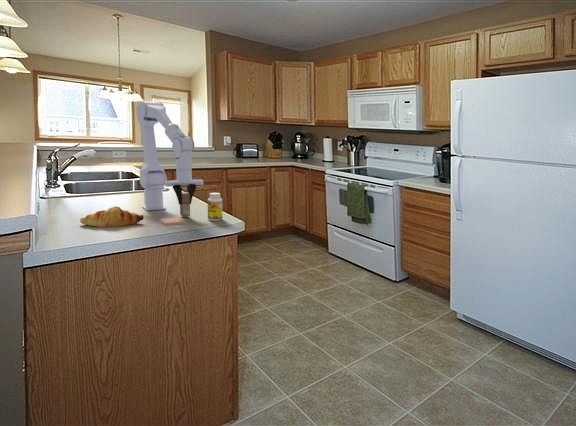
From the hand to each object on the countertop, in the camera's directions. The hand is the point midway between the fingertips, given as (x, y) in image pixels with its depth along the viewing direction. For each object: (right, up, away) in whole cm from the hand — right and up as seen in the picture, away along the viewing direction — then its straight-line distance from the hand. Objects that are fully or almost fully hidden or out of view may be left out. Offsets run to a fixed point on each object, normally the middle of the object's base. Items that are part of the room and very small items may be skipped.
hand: (184, 203), depth 160 cm
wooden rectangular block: (0, -4, +1) cm, 5 cm away
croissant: (-23, -8, -13) cm, 27 cm away
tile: (-4, -6, -6) cm, 9 cm away
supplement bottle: (+12, -6, -2) cm, 14 cm away
